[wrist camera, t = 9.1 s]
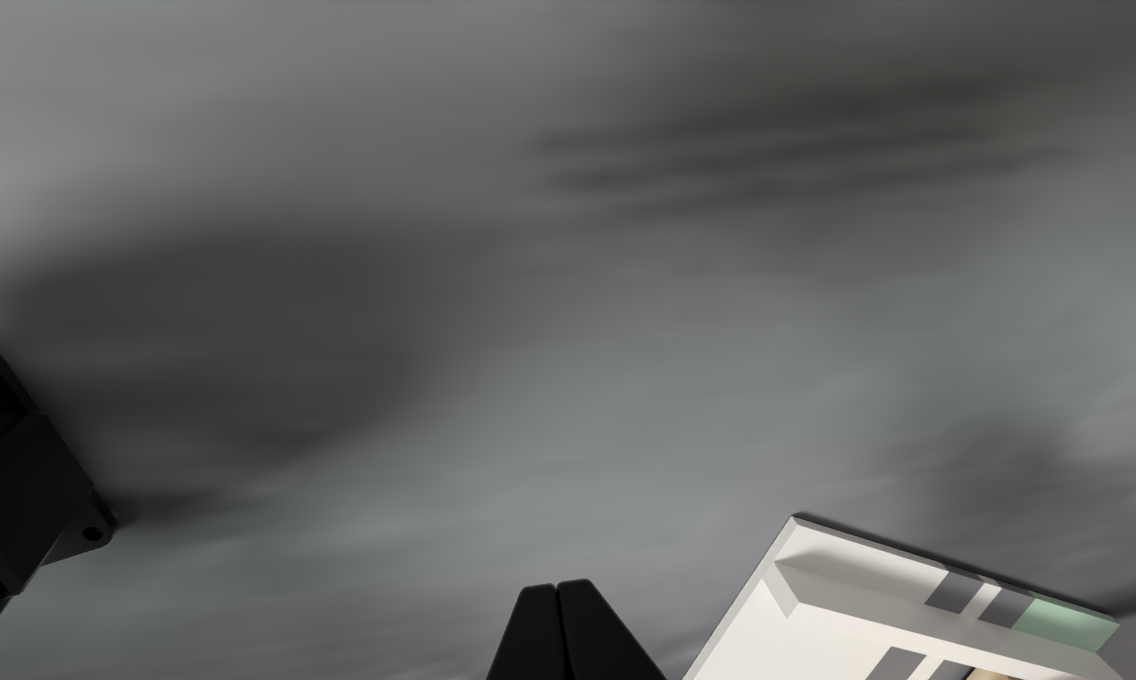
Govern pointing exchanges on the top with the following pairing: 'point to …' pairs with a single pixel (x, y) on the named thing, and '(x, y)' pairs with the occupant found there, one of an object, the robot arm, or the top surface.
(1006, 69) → the top surface
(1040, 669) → the track
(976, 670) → the maple block
